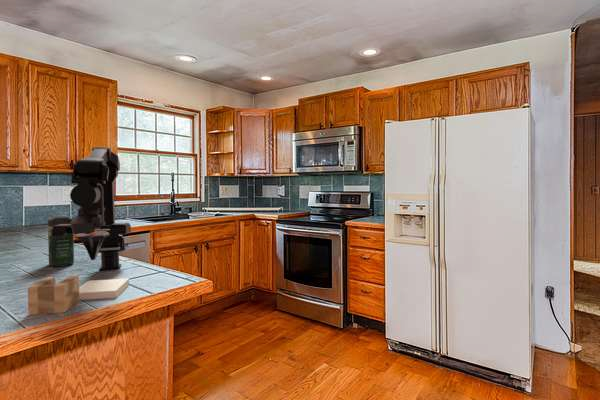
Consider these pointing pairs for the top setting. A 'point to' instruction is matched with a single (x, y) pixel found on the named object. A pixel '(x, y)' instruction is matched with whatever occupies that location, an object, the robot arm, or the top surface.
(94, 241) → the robot arm
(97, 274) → the top surface
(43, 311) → the oak box
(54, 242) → the coffee jar
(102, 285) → the cover plate
